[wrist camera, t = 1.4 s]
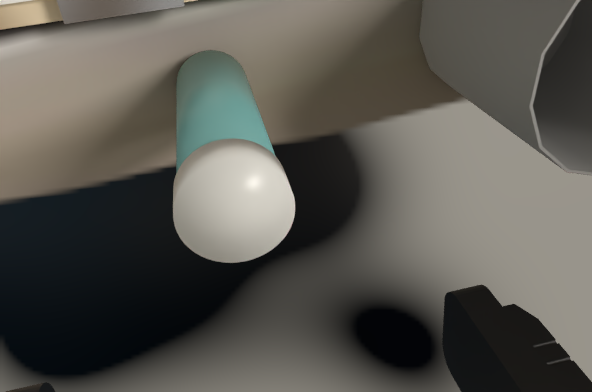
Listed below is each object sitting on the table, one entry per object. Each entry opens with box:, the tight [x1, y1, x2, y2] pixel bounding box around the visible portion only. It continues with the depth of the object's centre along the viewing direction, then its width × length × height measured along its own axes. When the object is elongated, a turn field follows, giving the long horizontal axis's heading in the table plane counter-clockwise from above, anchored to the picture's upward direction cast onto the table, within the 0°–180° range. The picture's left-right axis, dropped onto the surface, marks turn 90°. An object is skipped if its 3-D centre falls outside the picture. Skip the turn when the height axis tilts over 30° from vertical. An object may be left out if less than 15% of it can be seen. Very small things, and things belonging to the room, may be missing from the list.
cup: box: [419, 0, 592, 175], centre depth 23 cm, size 8×8×10 cm
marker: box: [173, 50, 295, 263], centre depth 21 cm, size 4×4×12 cm
